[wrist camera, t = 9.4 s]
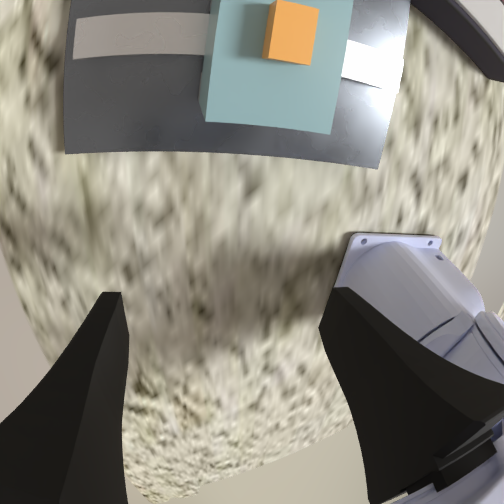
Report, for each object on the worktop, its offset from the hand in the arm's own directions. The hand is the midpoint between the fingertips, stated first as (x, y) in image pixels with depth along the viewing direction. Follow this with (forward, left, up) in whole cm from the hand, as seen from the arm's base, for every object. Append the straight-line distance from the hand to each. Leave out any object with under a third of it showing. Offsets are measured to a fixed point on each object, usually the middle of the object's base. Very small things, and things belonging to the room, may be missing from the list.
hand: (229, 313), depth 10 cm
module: (-1, -9, -8) cm, 12 cm away
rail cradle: (-1, -9, -9) cm, 13 cm away
